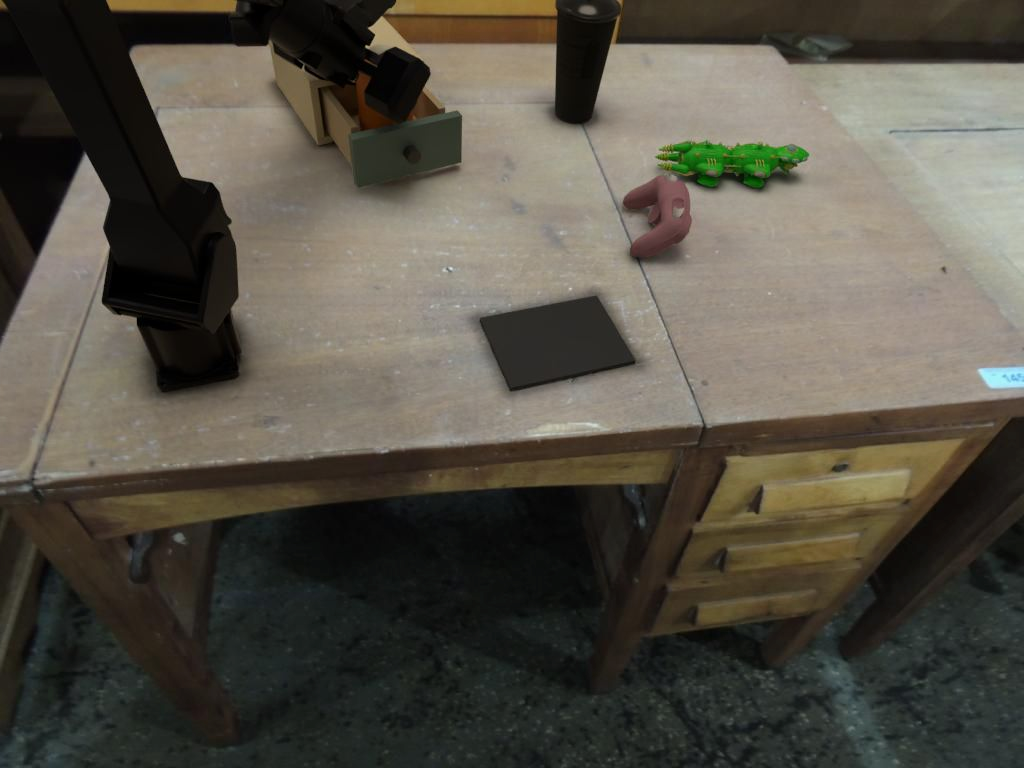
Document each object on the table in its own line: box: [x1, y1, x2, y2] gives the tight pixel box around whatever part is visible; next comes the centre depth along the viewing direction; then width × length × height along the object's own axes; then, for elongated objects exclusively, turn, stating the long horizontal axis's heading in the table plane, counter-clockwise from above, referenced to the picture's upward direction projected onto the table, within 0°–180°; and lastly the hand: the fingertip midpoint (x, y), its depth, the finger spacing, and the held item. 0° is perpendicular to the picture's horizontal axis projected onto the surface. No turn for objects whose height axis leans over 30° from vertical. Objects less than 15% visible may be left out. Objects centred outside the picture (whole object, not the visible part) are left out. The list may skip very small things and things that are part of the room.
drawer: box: [318, 84, 463, 189], centre depth 84 cm, size 16×13×6 cm
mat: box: [479, 295, 637, 392], centre depth 68 cm, size 12×9×1 cm
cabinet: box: [268, 15, 425, 146], centre depth 91 cm, size 16×14×8 cm
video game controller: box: [622, 172, 693, 258], centre depth 78 cm, size 10×5×7 cm, turn 179°
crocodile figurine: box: [654, 139, 810, 189], centre depth 87 cm, size 7×18×4 cm, turn 93°
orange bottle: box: [356, 44, 413, 132], centre depth 82 cm, size 6×6×10 cm
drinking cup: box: [554, 0, 623, 125], centre depth 88 cm, size 8×8×20 cm
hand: (394, 94), depth 83 cm, fingers closed on orange bottle, 6 cm apart
